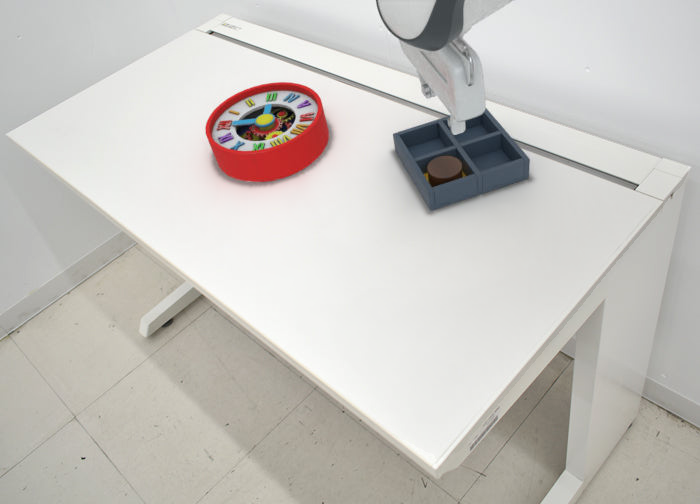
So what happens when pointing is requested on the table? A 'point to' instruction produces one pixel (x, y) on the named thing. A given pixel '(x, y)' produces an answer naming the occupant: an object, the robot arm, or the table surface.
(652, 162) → the table surface
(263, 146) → the toy clock
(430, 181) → the cylinder
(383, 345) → the table surface
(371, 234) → the table surface
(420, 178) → the grid
